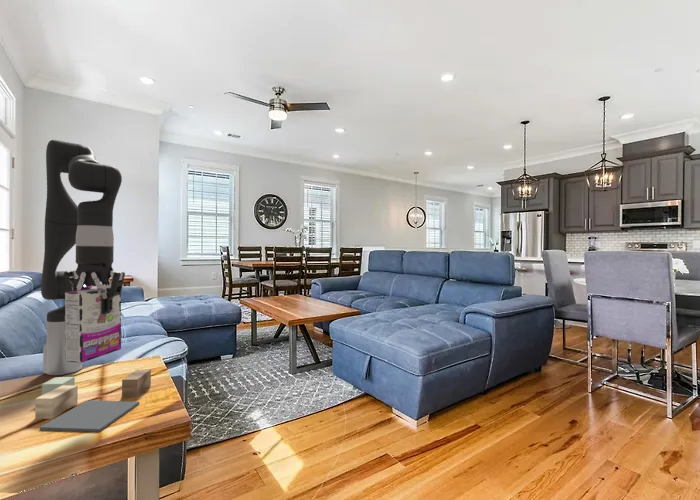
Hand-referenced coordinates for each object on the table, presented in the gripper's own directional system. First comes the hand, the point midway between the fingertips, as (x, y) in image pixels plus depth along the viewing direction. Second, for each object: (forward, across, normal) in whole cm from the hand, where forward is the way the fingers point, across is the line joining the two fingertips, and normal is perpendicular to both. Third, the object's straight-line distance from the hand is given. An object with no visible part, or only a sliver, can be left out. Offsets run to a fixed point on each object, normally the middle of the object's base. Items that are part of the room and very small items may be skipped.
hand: (94, 313), depth 85 cm
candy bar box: (+11, 0, 0) cm, 11 cm away
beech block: (+26, +11, -2) cm, 28 cm away
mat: (+25, 0, 0) cm, 25 cm away
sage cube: (+26, +17, -9) cm, 32 cm away
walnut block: (+26, -1, -15) cm, 30 cm away
